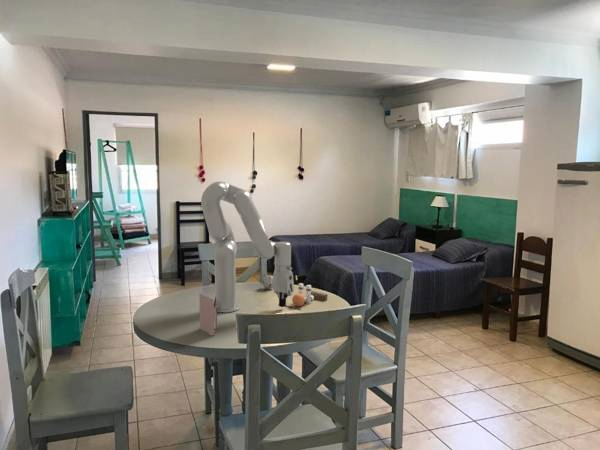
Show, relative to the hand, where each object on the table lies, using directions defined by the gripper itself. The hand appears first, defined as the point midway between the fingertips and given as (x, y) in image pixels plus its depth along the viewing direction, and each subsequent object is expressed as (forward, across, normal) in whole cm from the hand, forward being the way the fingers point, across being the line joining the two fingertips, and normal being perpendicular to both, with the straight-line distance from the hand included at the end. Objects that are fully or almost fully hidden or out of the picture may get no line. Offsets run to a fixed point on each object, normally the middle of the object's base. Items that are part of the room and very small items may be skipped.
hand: (282, 306), depth 228 cm
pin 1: (+2, +2, -16) cm, 17 cm away
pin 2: (+2, -2, -16) cm, 17 cm away
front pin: (0, 0, -13) cm, 13 cm away
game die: (+2, +32, -24) cm, 40 cm away
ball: (-2, -2, -9) cm, 10 cm away
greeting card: (+2, +1, +44) cm, 44 cm away
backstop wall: (+2, 0, -26) cm, 27 cm away
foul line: (+2, 0, -5) cm, 5 cm away
